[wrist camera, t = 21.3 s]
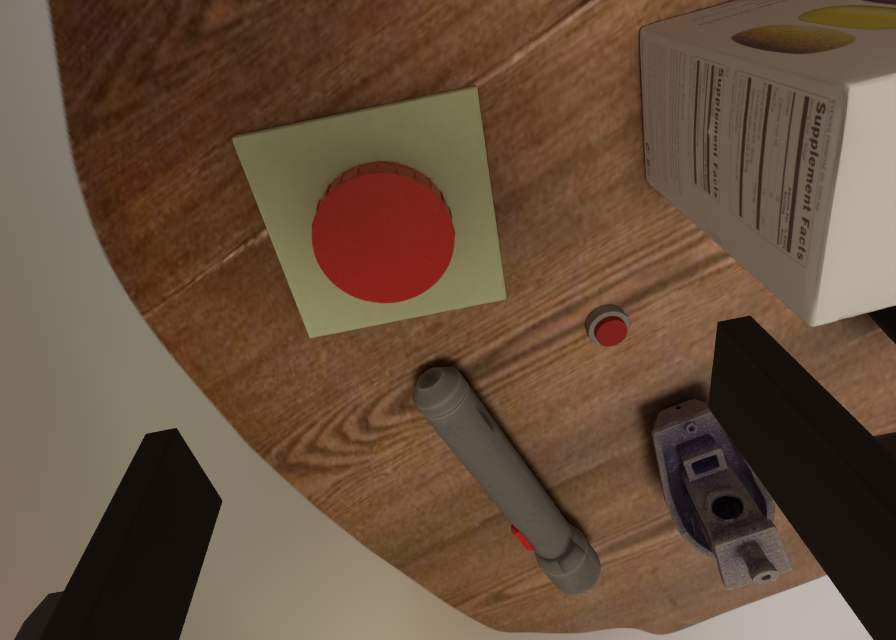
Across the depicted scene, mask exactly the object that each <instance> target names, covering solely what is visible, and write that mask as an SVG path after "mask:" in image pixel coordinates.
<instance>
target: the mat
mask: <svg viewBox="0 0 896 640" xmlns="http://www.w3.org/2000/svg"><path fill="white" fill-rule="evenodd" d="M232 141H233V144H234V147H235V149H236V152H237V154H238V157H239V159H240V162H241V164H242V167H243V169H244V172H245V175H246V177H247V180H248V182H249V185H250V187H251V190H252V192H253V195H254V197H255V200H256V203H257V205H258V208H259V210H260V213H261V215H262V218H263V220H264V223H265V225H266V228H267V230H268V233H269V236H270V238H271V241H272V243H273V246H274V248H275V251H276V253H277V256H278V258H279V261H280V264H281V266H282V269H283V271H284V274H285V276H286V279H287V281H288V284H289V286H290V289H291V292H292V294H293V297H294V299H295V302H296V304H297V307H298V309H299V312H300V314H301V317H302V320H303V322H304V325H305V327H306V330H307V332H308V335H309V337H310V338H314V337H319V336H324V335H329V334H334V333H339V332H344V331H349V330H354V329H359V328H364V327H369V326H374V325H379V324H384V323H389V322H394V321H400V320H405V319H410V318H415V317H420V316H425V315H430V314H435V313H440V312H445V311H450V310H455V309H460V308H465V307H470V306H475V305H480V304H485V303H490V302H495V301H500V300H505V299H507V297H506V290H505V283H504V276H503V269H502V261H501V254H500V247H499V240H498V233H497V226H496V218H495V211H494V204H493V197H492V190H491V183H490V176H489V168H488V161H487V154H486V147H485V140H484V133H483V125H482V118H481V111H480V104H479V97H478V90H477V87H476V86H470V87H465V88H461V89H456V90H451V91H446V92H441V93H437V94H432V95H427V96H422V97H417V98H413V99H408V100H403V101H398V102H393V103H389V104H384V105H379V106H374V107H370V108H365V109H360V110H355V111H350V112H346V113H341V114H336V115H331V116H326V117H322V118H317V119H312V120H307V121H302V122H298V123H293V124H288V125H283V126H279V127H274V128H269V129H264V130H259V131H255V132H250V133H245V134H240V135H235V136H233V138H232ZM376 161H383V162H394V163H396V162H398V163H399V164H403V165H406V166H409V167H411V168H413V169H414V168H416V170H417V171H419V172H421V173H422V174H424V175H425V176H426V177H428V178H431V181H432V182H433V183H434V184H435V185H436V186H437V187H438V189H439V190H440V191H441V192H443V196H444V198H445V200H446V202H447V205H448V207H450V210H451V214H452V218H453V219H452V224H453V227H454V231H455V243H454V252H453V255H452V258H451V261H450V264H449V266H448V268H447V270H446V271H445V273H444V274H443V276H442V277H441V278H440V279H439V280H438V282H437V283H436V284H434V285H433V286H432V287H431V288H430V289H428V290H427V291H425V292H424V293H422V294H420V295H418V296H416V297H414V298H412V299H409V300H405V301H401V302H396V303H373V302H368V301H364V300H361V299H358V298H355V297H353V296H351V295H349V294H347V293H345V292H344V291H342V290H341V289H339V288H338V287H337V286H335V285H334V284H333V283H332V282H331V281H330V280H329V279H328V278H327V276H326V275H325V274H324V273H323V271H322V270H321V268H320V266H319V264H318V262H317V260H316V257H315V255H314V251H313V246H312V228H311V227H312V223H313V220H314V217H315V215H316V212H317V211H316V208H317V204H318V201H319V199H320V200H321V198H322V196H323V194H324V192H325V191H326V189H327V186H328V184H329V185H330V184H331V183H332V182H333V181H334V180H335V179H336V178H337V177H338V176H340V175H341V173H342V172H343V173H344V172H345V171H347V170H349V169H351V168H353V167H356V166H358V164H360V165H361V164H365V163H369V162H376Z"/></svg>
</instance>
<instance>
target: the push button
mask: <svg viewBox="0 0 896 640" xmlns="http://www.w3.org/2000/svg"><path fill="white" fill-rule="evenodd" d="M629 328H630V322H629V319H628V317H627V316H626V314H625V313H624V311H623V310H622V309H621V308H620V307H618V306H615V305H603V306H600V307H598V308H596V309H594V310H593V311H592V312H591V313H590V314H589V315H588V317H587V319H586V323H585V329H586V332H587V334H588V335H589V337H590V339H591V340H592V341H593V342H594V343H595V344H597V345H600V346H614V345H617V344H618V343H620V342H622V341H623V340H624V339H625V337H626V335H627V333H628V331H629Z"/></svg>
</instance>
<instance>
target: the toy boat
mask: <svg viewBox="0 0 896 640" xmlns="http://www.w3.org/2000/svg"><path fill="white" fill-rule="evenodd" d="M652 439H653V443H654V448H655V453H656V458H657V463H658V469H659V474H660V480H661V485H662V490H663V495H664V499H665V502H666V505H667V507H668V509H669V512H670V514H671V517H672V519H673V521H674V523H675V526H676V528H677V529H678V531H679V533H680V535H681V536H682V537H683V538H684V539H685V540H686V541H687V542H688V543H689V544H690V545H691V546H692V547H693V548H695V549H696V550H698V551H699V552H701V553H702V554H704V555H706V556H708V557H709V558H711V559H714V560H717V563H718V568H719V572H720V575H721V579H722V582H723V584H724V586H725V588H726V589H727V590H732V589H735V588H739V587H742V586H745V585H748V584H751V583H755V584H759V585H763V584H767V583H771V582H774V581H775V580H776V579H778V577H779V575H781V574H784V573H787V572H790V571H792V570H793V568H792V565H791V562H790V560H789V558H788V555H787V553H786V550H785V548H784V545H783V543H782V540H781V538H780V535H779V532H778V530H777V528H776V526H775V525H774V513H775V504H774V501H773V498H772V497H771V495H770V494H769V493H768V491H767V490H766V488H765V487H764V486H763V484H762V483H761V481H760V480H759V479H758V477H757V476H756V474H755V473H754V471H753V470H752V469H751V467H750V466H749V464H748V463H747V462H746V460H745V459H744V457H743V456H742V455H741V453H740V452H739V450H738V449H737V448H736V446H735V445H734V443H733V442H732V441H731V439H730V438H729V436H728V435H727V434H726V432H725V431H724V429H723V428H722V427H721V425H720V424H719V422H718V421H717V420H716V418H715V417H714V415H713V414H712V413H711V411H710V410H709V408H708V402H704V401H699V400H697V399H692V400H688V401H686V402H683V403H680V404H678V405H675V406H673V407H670V408H667V409H665V410H662V411H660V412H659V413H658V416H657V418H656V421H655V424H654V428H653V431H652Z"/></svg>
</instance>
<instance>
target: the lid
mask: <svg viewBox="0 0 896 640" xmlns="http://www.w3.org/2000/svg"><path fill="white" fill-rule="evenodd" d="M316 211H317V212H316V215H315V217H314V220H313V223H312V227H311V228H312V246H313V251H314V255H315V257H316V260H317V262H318V264H319V266H320V268H321V270H322V271H323V273H324V274H325V275H326V276H327V278H328V279H329V280H330V281H331V282H332V283H333V284H334V285H335V286H337V287H338V288H339V289H341V290H342V291H344V292H345V293H347V294H349V295H351V296H353V297H355V298H358V299H361V300H364V301H368V302H373V303H396V302H401V301H405V300H409V299H412V298H414V297H416V296H418V295H420V294H422V293H424V292H425V291H427V290H428V289H430V288H431V287H432V286H433V285H434V284H436V283H437V282H438V280H439V279H440V278H441V277H442V276H443V274H444V273H445V271H446V270H447V268H448V266H449V264H450V261H451V258H452V255H453V252H454V243H455V231H454V227H453V224H452V219H453V218H452V214H451V210H450V207H448V205H447V202H446V200H445V198H444V196H443V192H441V191H440V190H439V189H438V187H437V186H436V185H435V184H434V183H433V182H432V181H431V178H428V177H426V176H425V175H424V174H422V173H421V172H419V171H417V170H416V168H414V169H413V168H411V167H409V166H406V165H403V164H399V163H398V162H396V163H394V162H383V161H376V162H369V163H365V164H361V165H360V164H358V166H356V167H353V168H351V169H349V170H347V171H345V172H344V173H343V172H342V173H341V175H340V176H338V177H337V178H336V179H335V180H334V181H333V182H332V183H331V184H330V185H329V184H328V186H327V189H326V191H325V192H324V194H323V196H322V198H321V200H320V199H319V201H318V204H317V208H316Z"/></svg>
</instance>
